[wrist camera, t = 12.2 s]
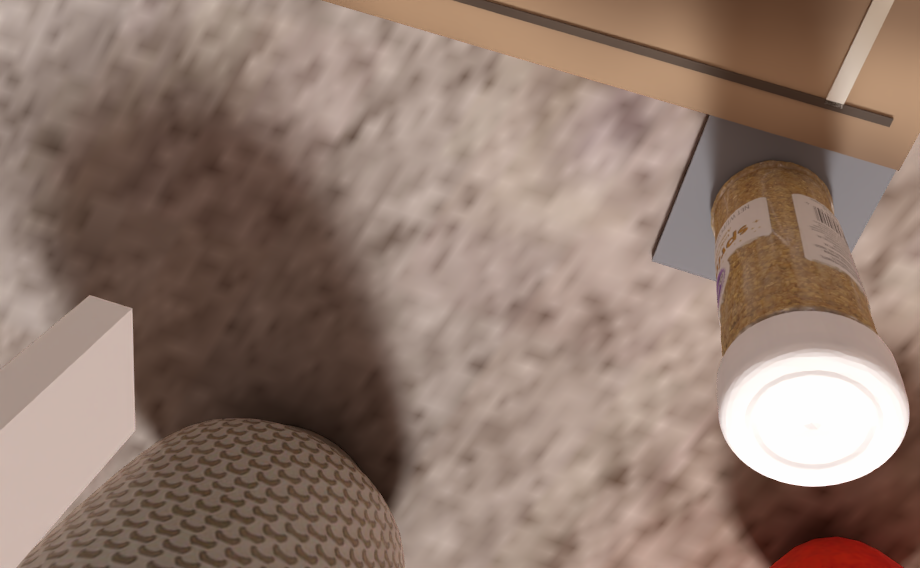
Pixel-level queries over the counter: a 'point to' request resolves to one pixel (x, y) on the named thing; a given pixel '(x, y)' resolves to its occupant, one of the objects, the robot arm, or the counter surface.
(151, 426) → the counter surface
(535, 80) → the counter surface
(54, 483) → the robot arm
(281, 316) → the counter surface
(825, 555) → the apple
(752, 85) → the board
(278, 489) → the planter
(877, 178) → the end pad
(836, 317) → the spice jar
